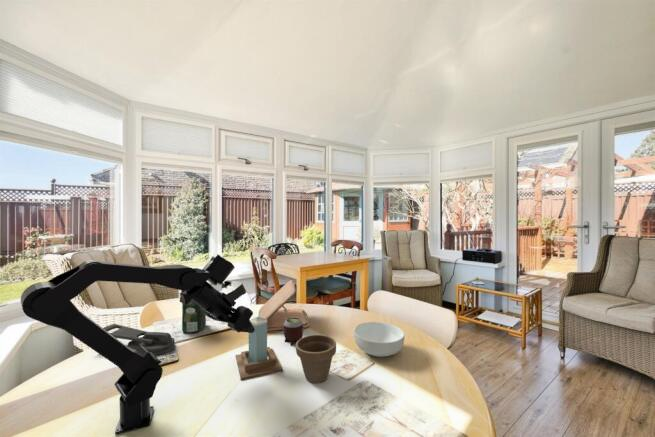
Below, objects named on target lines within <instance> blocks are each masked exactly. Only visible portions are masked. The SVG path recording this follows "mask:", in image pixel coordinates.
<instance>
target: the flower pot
mask: <svg viewBox="0 0 655 437" xmlns="http://www.w3.org/2000/svg"><path fill="white" fill-rule="evenodd" d="M295 352H296V355H297V357H298V358H299V359H300V362H301V368H302V371H303V374H304V377H305V379H306V381H308V382H310V383H313V384H319V383H320V384H321V383H323V382H325V381H327V379H328V378H329V374H330V370H331V365H332V360H333V356H335V354H336V352H337V342H336V339H334V337H332V336H329V335H324V334H311V335H307V336H304V337H303V336H302V338H301V339H299V340H298V341H297V342H295Z"/></svg>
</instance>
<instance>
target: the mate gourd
mask: <svg viewBox="0 0 655 437" xmlns="http://www.w3.org/2000/svg"><path fill="white" fill-rule="evenodd" d="M279 305H280V304H279ZM280 306H282V305H280ZM281 308H283V310H285V312H286V315H287V318H288V319H287V320H286V321H285V323H284V326H283V330H282V331H283V337H284V342H285V343H290V347H292V346H294V344H295V343H297V341H298V340H299V339H301V338H303V336H304V335H303V334H304V333H303V332H304V328H303V324H302V321H301V320H300V319H299V318H294V317H293V318H289V316H288V313H287V310H288V309H287V308H286V307H285V305H283V306H282V307H281Z"/></svg>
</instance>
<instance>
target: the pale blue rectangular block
mask: <svg viewBox="0 0 655 437" xmlns="http://www.w3.org/2000/svg"><path fill="white" fill-rule="evenodd" d="M250 321H251V323H252V325H253V327H254V329H255V331H254V332H253V333H248V351H249V362H251V363H253V362H258V361H263V360H267V347H268V331H267V319H264V318H262V317H258V316H257V317H253V318H250Z"/></svg>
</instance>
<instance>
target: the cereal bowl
mask: <svg viewBox="0 0 655 437" xmlns="http://www.w3.org/2000/svg"><path fill="white" fill-rule="evenodd" d="M353 337H354V342H355V344H356V346H357V347H358V348H359V349H360V350H361V351H363V352H364V353H366V354H369V355H370V356H373V357H378V358H384V357H388V356H393V355H395V354H397V353H399V352H400V351H401V349H402V348H403V345H404V342H405V331H404V330H403V329H402V328H400V327H398V326H397V325H394V324H391V323H388V322H382V321H368V322H362V323H359V324H357V325H356V326H355V327H354V329H353Z"/></svg>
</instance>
